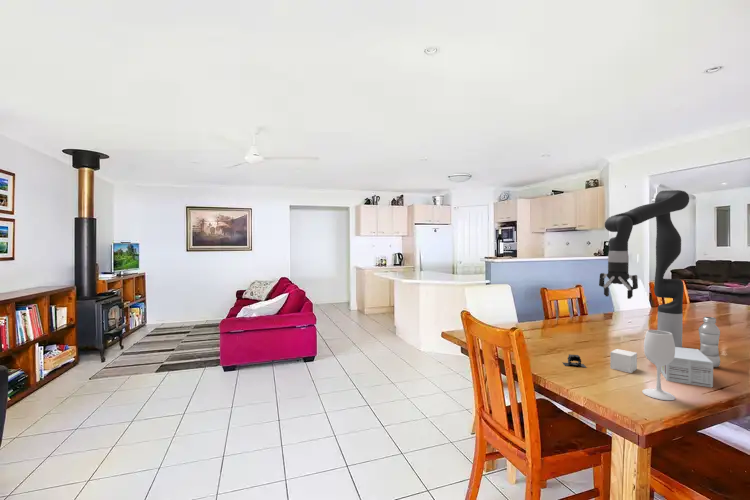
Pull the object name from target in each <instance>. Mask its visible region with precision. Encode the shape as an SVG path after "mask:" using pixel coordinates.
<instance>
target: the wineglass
mask: <svg viewBox="0 0 750 500" xmlns="http://www.w3.org/2000/svg"><path fill="white" fill-rule="evenodd" d="M643 353H644V356H645V357H646V359H647V360H648V361H649V362H650V363H652V364H653V365H655V368H656V385H655V388H644V389H642V391H641V392H642V394H643V395H646V396H648V397H649V398H653V399H656V400H661V401H674V400H675V401H676V399H677V398H676V396H675V395H673V394H672V393H671V392H668V391H666V390H663V389H662V383H661V381H662V380H661V379H662V378H661V374H662V373H661V368H662V366H664V365H667V364H669V363H670V362H672V361H673V359H674V356H675V344H674V339H673V335H672V333H670V332H666V331H660V330H658V329H647V330H646V332H645V336H644V340H643Z"/></svg>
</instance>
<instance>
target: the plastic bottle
mask: <svg viewBox="0 0 750 500" xmlns="http://www.w3.org/2000/svg"><path fill="white" fill-rule="evenodd" d="M702 319H703V320H702V322H703V323H702V324H700V326H699V327H698V335H699V342H700V344H699V345H700V346H699V347H700V348H699V350H700V351H701V352H702V353H703V354H704V355H705V356H706V357H707V358H709V359H710V360H711V361H712V362H713V368H719V366H721V357H720V353H719V342H720V341H719V340H720V336H721V331H720V328H719V327H718V326H717V325H716V323H717V318H716V317H711V316H703V318H702Z"/></svg>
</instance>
